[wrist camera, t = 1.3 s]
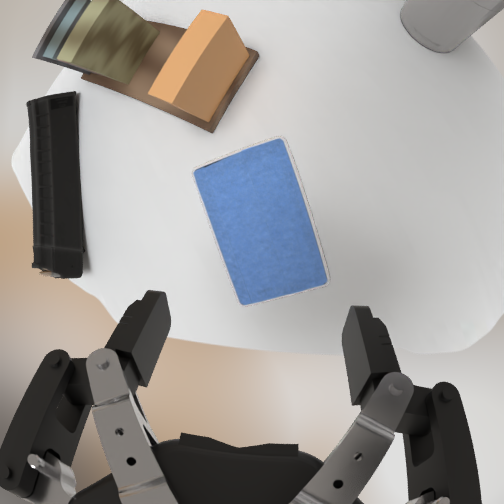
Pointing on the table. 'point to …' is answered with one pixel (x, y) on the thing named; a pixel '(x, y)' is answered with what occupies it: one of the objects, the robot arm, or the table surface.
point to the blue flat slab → (262, 222)
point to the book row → (121, 52)
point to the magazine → (56, 186)
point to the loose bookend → (201, 66)
